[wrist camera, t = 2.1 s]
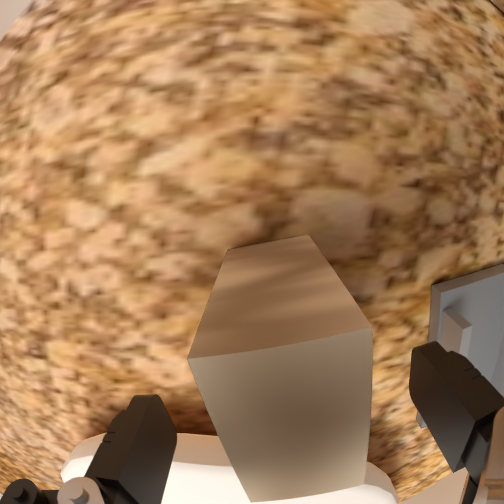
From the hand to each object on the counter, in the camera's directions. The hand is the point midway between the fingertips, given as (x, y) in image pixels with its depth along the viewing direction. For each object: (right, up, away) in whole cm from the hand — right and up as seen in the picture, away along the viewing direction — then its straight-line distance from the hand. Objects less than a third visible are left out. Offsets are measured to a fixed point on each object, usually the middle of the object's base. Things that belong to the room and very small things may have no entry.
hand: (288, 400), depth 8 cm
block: (0, +2, +5) cm, 6 cm away
